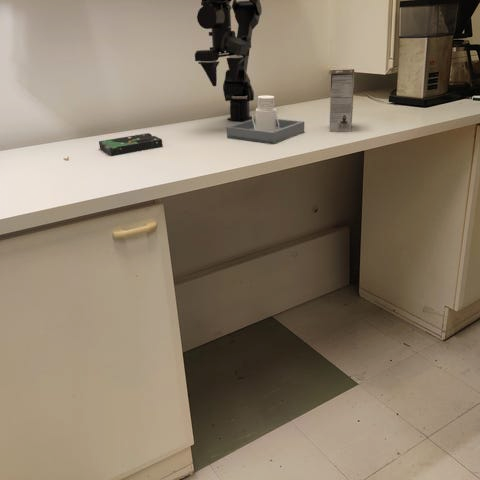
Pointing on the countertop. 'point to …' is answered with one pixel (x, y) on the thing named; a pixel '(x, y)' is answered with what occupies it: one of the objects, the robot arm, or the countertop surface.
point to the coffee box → (341, 100)
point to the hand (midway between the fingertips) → (224, 84)
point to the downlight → (265, 114)
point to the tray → (250, 134)
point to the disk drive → (130, 144)
